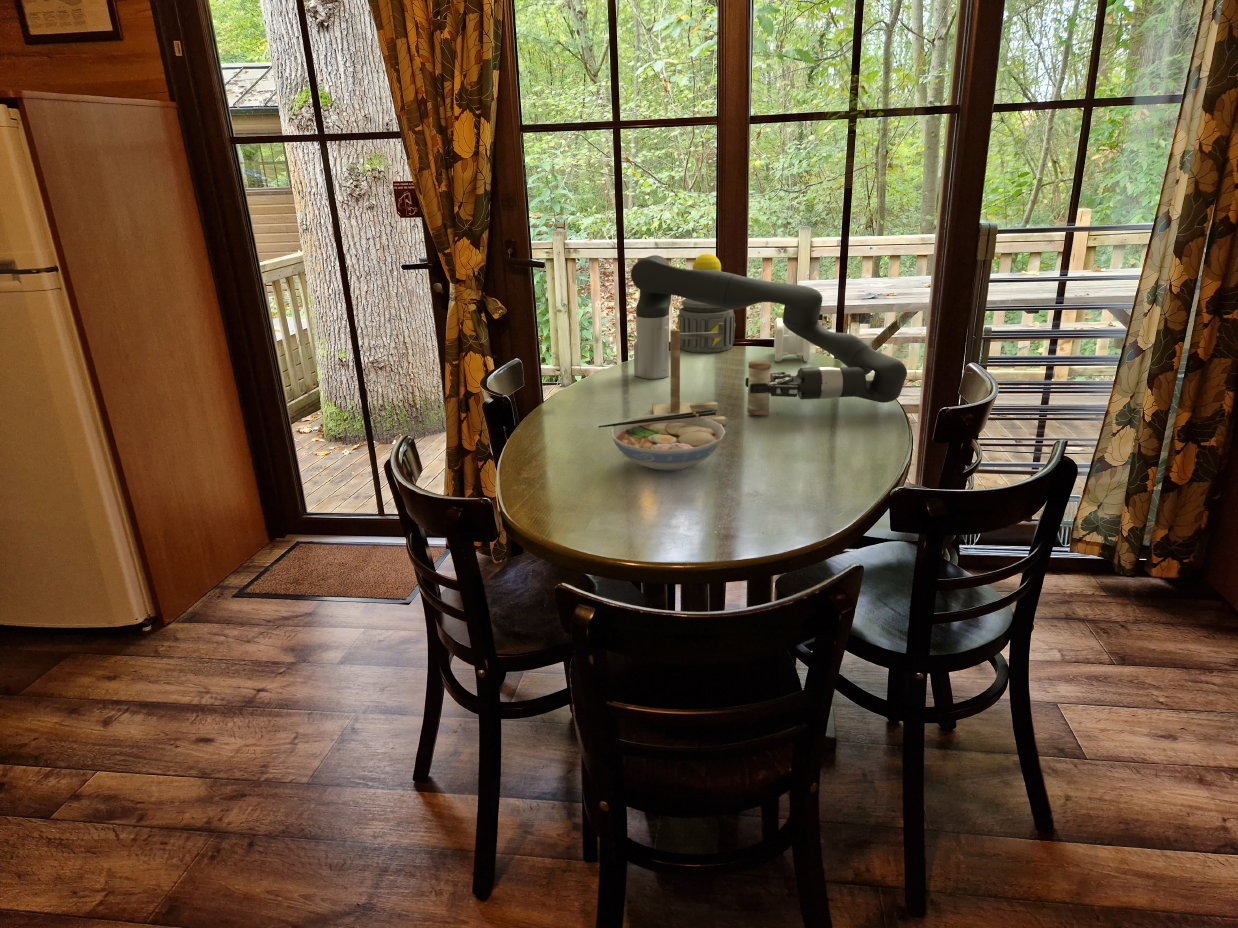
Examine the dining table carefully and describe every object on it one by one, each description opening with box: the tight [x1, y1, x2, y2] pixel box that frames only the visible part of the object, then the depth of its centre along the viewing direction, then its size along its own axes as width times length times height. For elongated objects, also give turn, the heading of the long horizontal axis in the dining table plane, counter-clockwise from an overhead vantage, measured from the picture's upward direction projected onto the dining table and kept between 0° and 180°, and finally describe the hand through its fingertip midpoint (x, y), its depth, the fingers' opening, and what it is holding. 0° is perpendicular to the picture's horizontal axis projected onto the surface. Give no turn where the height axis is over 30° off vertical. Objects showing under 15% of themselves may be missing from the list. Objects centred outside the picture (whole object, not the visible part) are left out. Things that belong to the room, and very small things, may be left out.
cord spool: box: [746, 359, 772, 416], centre depth 185 cm, size 5×5×12 cm
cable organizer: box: [773, 317, 811, 363], centre depth 239 cm, size 15×11×12 cm
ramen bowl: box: [598, 409, 726, 473], centre depth 156 cm, size 25×23×8 cm
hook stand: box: [651, 323, 727, 426], centre depth 183 cm, size 16×14×22 cm
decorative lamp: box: [675, 253, 737, 354], centre depth 253 cm, size 19×19×30 cm
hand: (748, 385), depth 185 cm, fingers closed on cord spool, 5 cm apart
